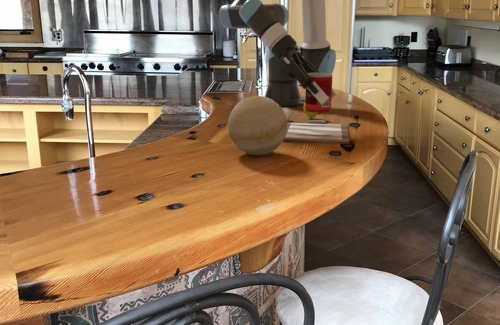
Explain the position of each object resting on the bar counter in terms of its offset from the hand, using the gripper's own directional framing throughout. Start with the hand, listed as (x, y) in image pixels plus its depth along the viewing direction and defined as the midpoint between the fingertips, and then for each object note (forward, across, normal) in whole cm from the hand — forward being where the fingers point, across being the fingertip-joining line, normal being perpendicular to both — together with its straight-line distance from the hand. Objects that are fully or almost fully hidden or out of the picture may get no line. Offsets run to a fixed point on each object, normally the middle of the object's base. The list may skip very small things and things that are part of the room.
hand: (329, 99), depth 154 cm
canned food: (0, 0, -5) cm, 5 cm away
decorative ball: (+1, +30, -15) cm, 34 cm away
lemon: (-1, -22, -16) cm, 27 cm away
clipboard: (+5, 0, -10) cm, 11 cm away
